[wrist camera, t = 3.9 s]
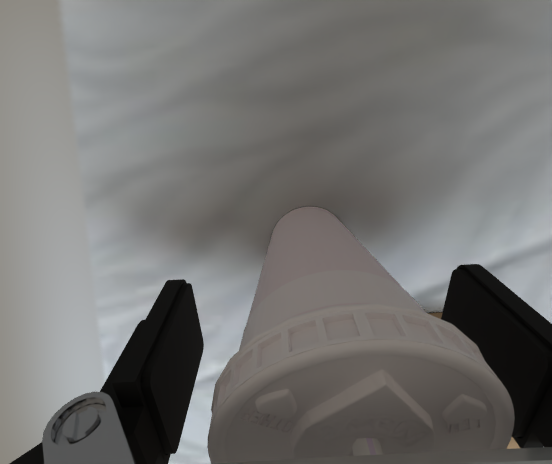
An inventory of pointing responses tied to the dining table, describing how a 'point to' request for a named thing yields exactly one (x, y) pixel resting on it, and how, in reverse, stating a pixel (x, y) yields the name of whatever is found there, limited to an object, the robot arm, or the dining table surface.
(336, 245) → the smoothie
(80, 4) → the dining table surface
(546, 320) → the robot arm
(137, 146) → the dining table surface
